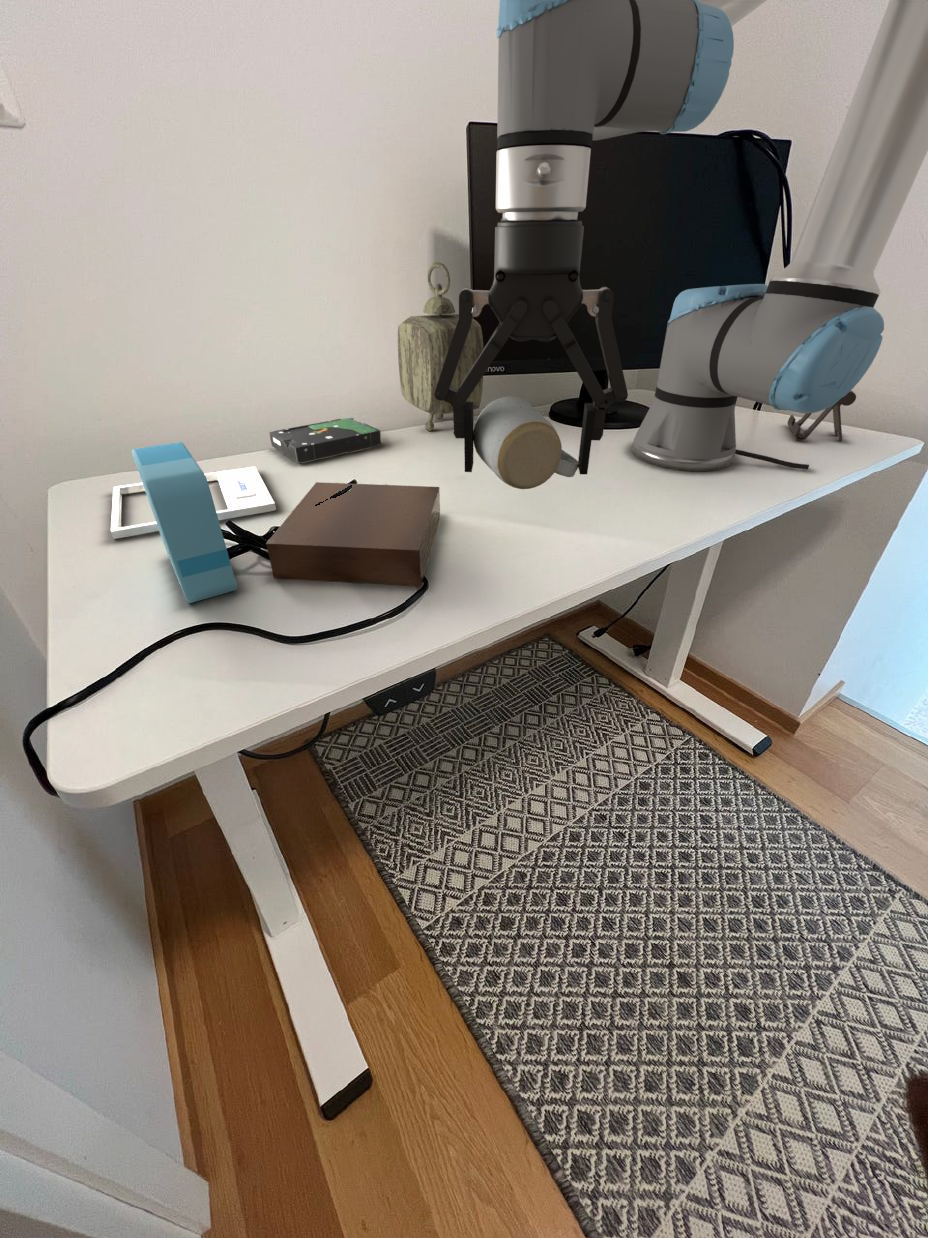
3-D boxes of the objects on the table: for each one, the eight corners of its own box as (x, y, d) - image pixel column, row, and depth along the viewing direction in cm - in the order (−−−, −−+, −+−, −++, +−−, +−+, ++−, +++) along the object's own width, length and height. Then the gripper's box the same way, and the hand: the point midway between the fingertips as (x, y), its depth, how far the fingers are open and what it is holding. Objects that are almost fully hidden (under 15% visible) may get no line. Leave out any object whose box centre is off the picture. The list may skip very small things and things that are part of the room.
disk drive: (299, 466, 82) (383, 446, 89) (295, 448, 80) (381, 428, 87) (271, 449, 88) (351, 431, 96) (267, 431, 86) (349, 414, 94)
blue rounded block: (240, 595, 52) (206, 474, 45) (190, 610, 50) (146, 485, 43) (212, 546, 60) (180, 437, 53) (168, 556, 58) (128, 445, 51)
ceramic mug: (497, 497, 54) (500, 419, 50) (471, 469, 61) (472, 397, 56) (591, 485, 57) (602, 410, 52) (558, 460, 63) (565, 390, 59)
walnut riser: (440, 517, 67) (439, 486, 64) (421, 586, 54) (419, 550, 51) (320, 512, 68) (316, 482, 65) (273, 578, 55) (265, 543, 52)
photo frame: (274, 501, 67) (110, 529, 61) (276, 510, 68) (113, 538, 61) (254, 465, 78) (112, 485, 71) (256, 472, 79) (116, 493, 72)
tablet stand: (785, 426, 100) (802, 377, 95) (833, 430, 98) (852, 381, 93) (793, 440, 93) (811, 388, 88) (844, 445, 91) (866, 392, 86)
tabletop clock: (481, 436, 94) (486, 264, 79) (435, 444, 90) (431, 265, 76) (442, 416, 104) (440, 260, 90) (399, 422, 100) (389, 260, 86)
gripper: (392, 218, 44) (410, 479, 56) (696, 214, 42) (644, 484, 55) (407, 219, 50) (421, 454, 62) (673, 216, 48) (631, 458, 61)
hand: (525, 468), depth 59 cm, fingers closed on ceramic mug, 11 cm apart
